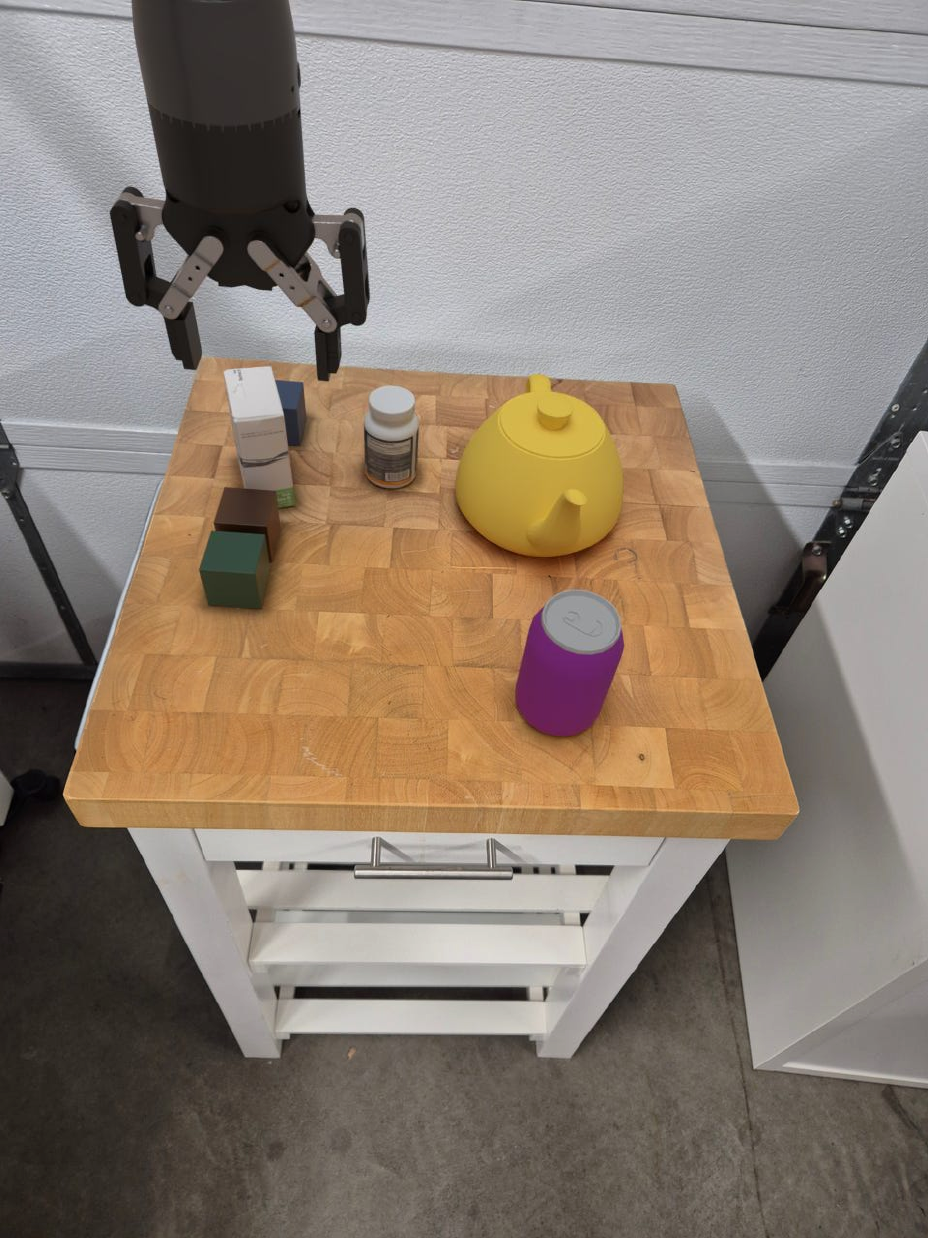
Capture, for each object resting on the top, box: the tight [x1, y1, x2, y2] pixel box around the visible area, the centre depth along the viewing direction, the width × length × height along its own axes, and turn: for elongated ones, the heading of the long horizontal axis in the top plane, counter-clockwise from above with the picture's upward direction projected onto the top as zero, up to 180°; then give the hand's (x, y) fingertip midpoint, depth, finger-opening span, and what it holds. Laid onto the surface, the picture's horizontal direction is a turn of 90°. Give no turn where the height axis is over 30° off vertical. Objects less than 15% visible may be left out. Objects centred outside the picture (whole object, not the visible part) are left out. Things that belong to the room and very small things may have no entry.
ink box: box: [222, 365, 296, 509], centre depth 83 cm, size 9×5×12 cm, turn 17°
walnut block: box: [213, 486, 282, 563], centre depth 80 cm, size 5×5×5 cm
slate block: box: [275, 379, 307, 447], centre depth 91 cm, size 5×5×5 cm
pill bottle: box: [363, 384, 420, 489], centre depth 86 cm, size 6×6×10 cm
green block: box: [198, 530, 271, 610], centre depth 76 cm, size 5×5×5 cm
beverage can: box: [515, 588, 625, 737], centre depth 68 cm, size 8×8×12 cm
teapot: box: [454, 373, 625, 558], centre depth 82 cm, size 25×18×14 cm
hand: (260, 368), depth 53 cm, fingers open, 8 cm apart
